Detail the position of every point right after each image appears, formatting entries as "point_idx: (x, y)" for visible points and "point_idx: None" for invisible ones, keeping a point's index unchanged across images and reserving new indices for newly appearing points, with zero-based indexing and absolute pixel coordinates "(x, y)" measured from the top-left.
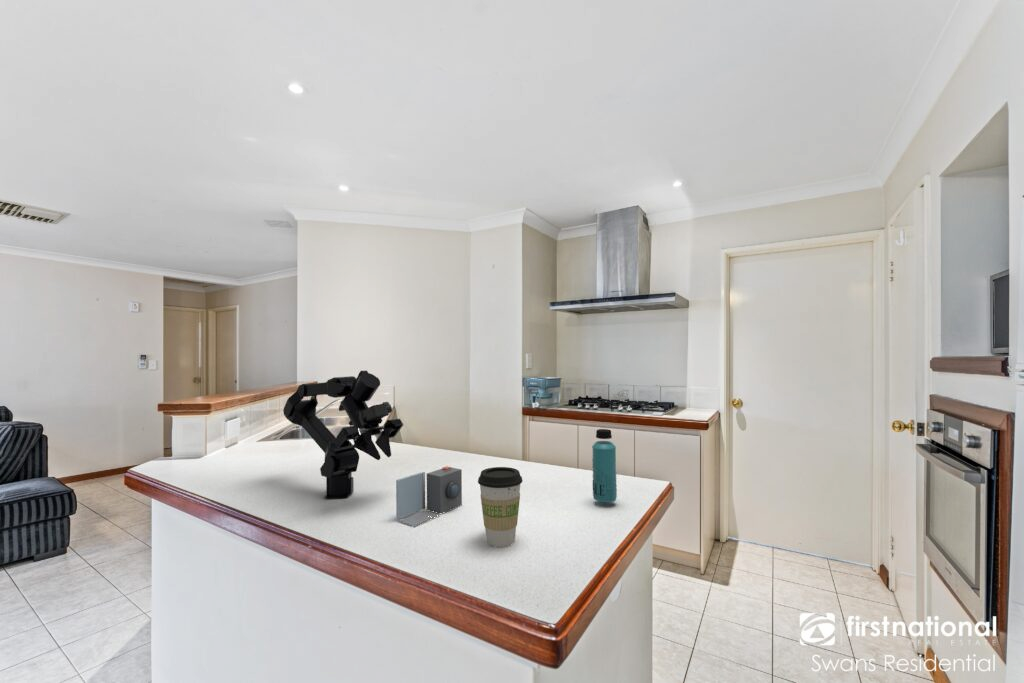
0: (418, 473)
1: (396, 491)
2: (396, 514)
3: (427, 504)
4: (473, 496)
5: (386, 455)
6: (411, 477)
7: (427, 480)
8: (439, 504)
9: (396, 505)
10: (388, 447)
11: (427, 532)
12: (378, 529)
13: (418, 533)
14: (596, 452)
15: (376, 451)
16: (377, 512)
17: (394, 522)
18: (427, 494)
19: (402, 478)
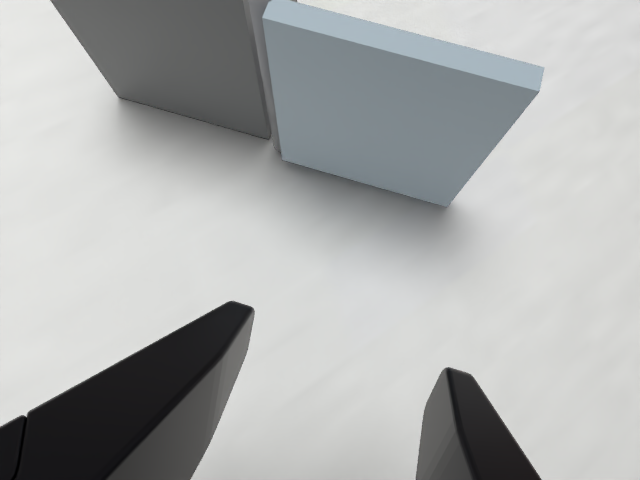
0: (302, 15)
1: (501, 137)
2: (452, 199)
3: (267, 118)
4: (13, 15)
5: (224, 404)
6: (394, 37)
7: (250, 22)
8: None
9: (468, 179)
10: (164, 376)
11: (499, 22)
12: (566, 234)
13: (523, 49)
14: None
15: (510, 466)
16: (376, 385)
17: (463, 209)
18: (262, 85)
19: (480, 65)
